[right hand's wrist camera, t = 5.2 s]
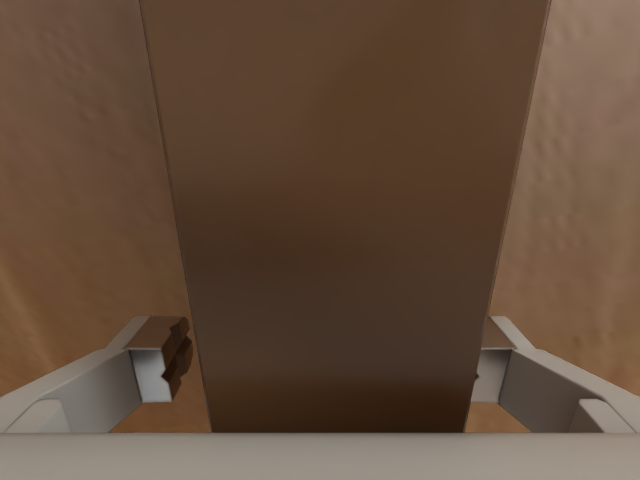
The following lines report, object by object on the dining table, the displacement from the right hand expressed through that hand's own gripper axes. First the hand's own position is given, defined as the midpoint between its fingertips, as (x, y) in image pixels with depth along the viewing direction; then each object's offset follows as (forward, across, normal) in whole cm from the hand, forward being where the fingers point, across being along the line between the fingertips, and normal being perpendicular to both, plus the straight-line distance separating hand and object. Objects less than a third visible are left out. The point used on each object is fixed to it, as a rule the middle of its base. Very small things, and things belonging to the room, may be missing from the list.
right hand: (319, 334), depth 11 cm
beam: (+4, 0, -26) cm, 27 cm away
